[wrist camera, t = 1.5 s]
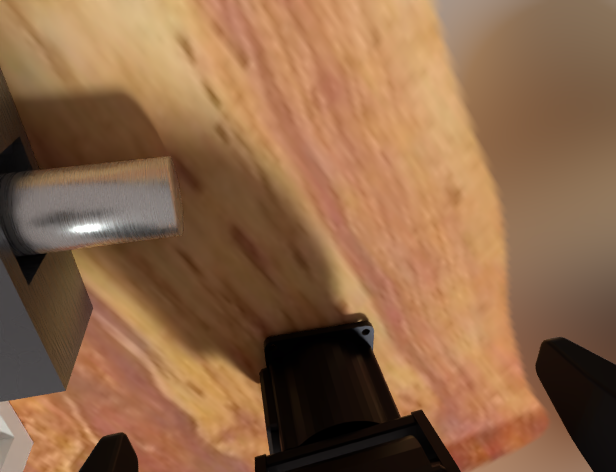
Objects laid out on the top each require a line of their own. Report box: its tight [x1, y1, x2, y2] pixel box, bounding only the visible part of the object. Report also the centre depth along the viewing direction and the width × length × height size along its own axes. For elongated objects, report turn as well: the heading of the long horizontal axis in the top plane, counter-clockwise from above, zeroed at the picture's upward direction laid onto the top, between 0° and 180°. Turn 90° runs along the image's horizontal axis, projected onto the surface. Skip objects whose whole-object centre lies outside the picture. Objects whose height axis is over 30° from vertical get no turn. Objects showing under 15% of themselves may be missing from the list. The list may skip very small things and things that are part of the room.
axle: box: [0, 156, 184, 257], centre depth 17 cm, size 12×3×3 cm, turn 93°
